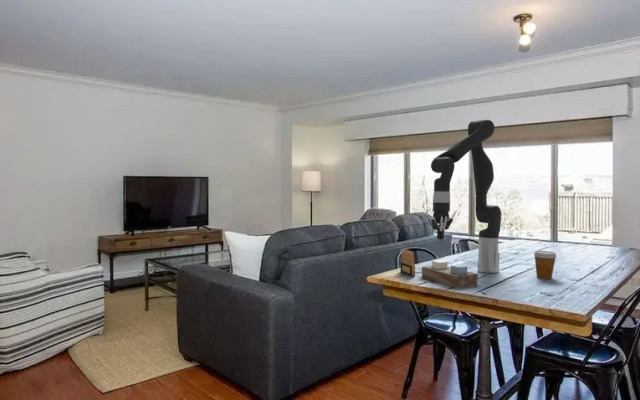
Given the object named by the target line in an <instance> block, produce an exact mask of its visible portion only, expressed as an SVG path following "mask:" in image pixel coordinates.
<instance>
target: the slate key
mask: <svg viewBox="0 0 640 400" xmlns="http://www.w3.org/2000/svg"><path fill="white" fill-rule="evenodd" d="M450 267H451V273H454V274H458V275H461V274H467V271H468V266H466V265H462V264H454V265H453V264H452V265H450Z"/></svg>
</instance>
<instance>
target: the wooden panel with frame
mask: <svg viewBox="0 0 640 400" xmlns="http://www.w3.org/2000/svg"><path fill="white" fill-rule="evenodd" d="M399 271H400V273H401V274H402V275H403V274H404V275H405V276H408V277H410V278H415V277H416V266H415V253H414V250H413V251H412V250H409V249H406V248H404V247H403V248H402V250H401V261H400V270H399Z"/></svg>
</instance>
